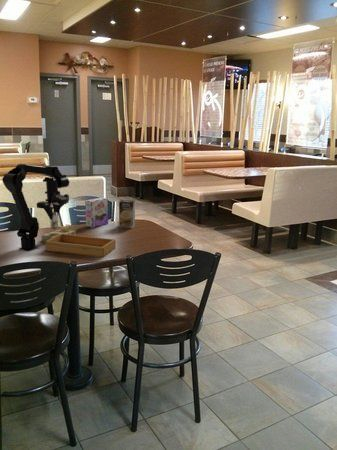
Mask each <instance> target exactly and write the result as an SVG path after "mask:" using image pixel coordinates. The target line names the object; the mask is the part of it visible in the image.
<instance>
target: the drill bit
mask: <svg viewBox="0 0 337 450" xmlns="http://www.w3.org/2000/svg"><path fill="white" fill-rule="evenodd" d="M49 221H50V230H59V215H58V212H57V211H54V210H52V219H50V218H49Z"/></svg>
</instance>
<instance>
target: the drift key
mask: <svg viewBox="0 0 337 450" xmlns="http://www.w3.org/2000/svg"><path fill="white" fill-rule="evenodd" d="M60 229H61V231H65V232H69V231H70V230H71V229H70V227H68V226H60Z"/></svg>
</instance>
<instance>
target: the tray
mask: <svg viewBox="0 0 337 450" xmlns="http://www.w3.org/2000/svg"><path fill="white" fill-rule="evenodd" d="M115 249H116V239H114V238H105V237H95V236H85V235H77V234H76V235H69V234H59V235H57V236H55V237H53V238H51V239H49V240H47V241H45V251H46V252H47V251H48V252H55V253H63V254H64V253H65V254H71V255H79V256H86V257H95V258H105V257H106V256H107V255H109V254H110V253H111V252H113V251H114V250H115Z"/></svg>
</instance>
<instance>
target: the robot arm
mask: <svg viewBox="0 0 337 450" xmlns="http://www.w3.org/2000/svg"><path fill="white" fill-rule="evenodd" d="M27 173H30V174H31V173H33V174H40V175H42V176H44V179H42V182H44V183H46V191H44V194H45V195H46V198H47V199H45V201H38V202H36V208H37V209H43V210H44V211H45V213H46V215H47V217H48V218H49V220H50V219H52V211H57V212H58V216H59V214H60V211H61V208H62V207H63V206H65V205H67V204H69V201H70V196H69V194H67V193H66V194H61V192H60V190H59V189H62V188H66V187H67V188H68V187H69V185H70V180H69V178H68V177H67V175H66V174H62V172H61V171H60V169H59V166H56V165H50V164H49V165H48V164H47V165H31V164H25V163H19V164H17V165H16V166H15V167H14V168H12V169H10V170H9V171H8V172H7V173H4V175H3V177H2V179H1V180H2V184H3V185H4V187H5V188H6V190H8V192H10V194H11V196H12V198H13V201H14V203H15V207H16V209H17V211H18V214H19V216H20V222H19V224H20V227H19V229H18V231H17V232H16V234H17V237H19V238H20V246H21V247H18V248H19V250H21V251H25V252H26V251H27V252H29V251H32V250H35V249H37V248H38V246H37V245H36V238H38V233H39V230H40V223H39V221H38V218H37V217H34V216H32V215H31V212H30V208H29V206H28V204H27V201H26V197H25V195H24V192H23V186H24V185H23V184H24V183H23V181H24V180H25V179H26V177H27Z"/></svg>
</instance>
